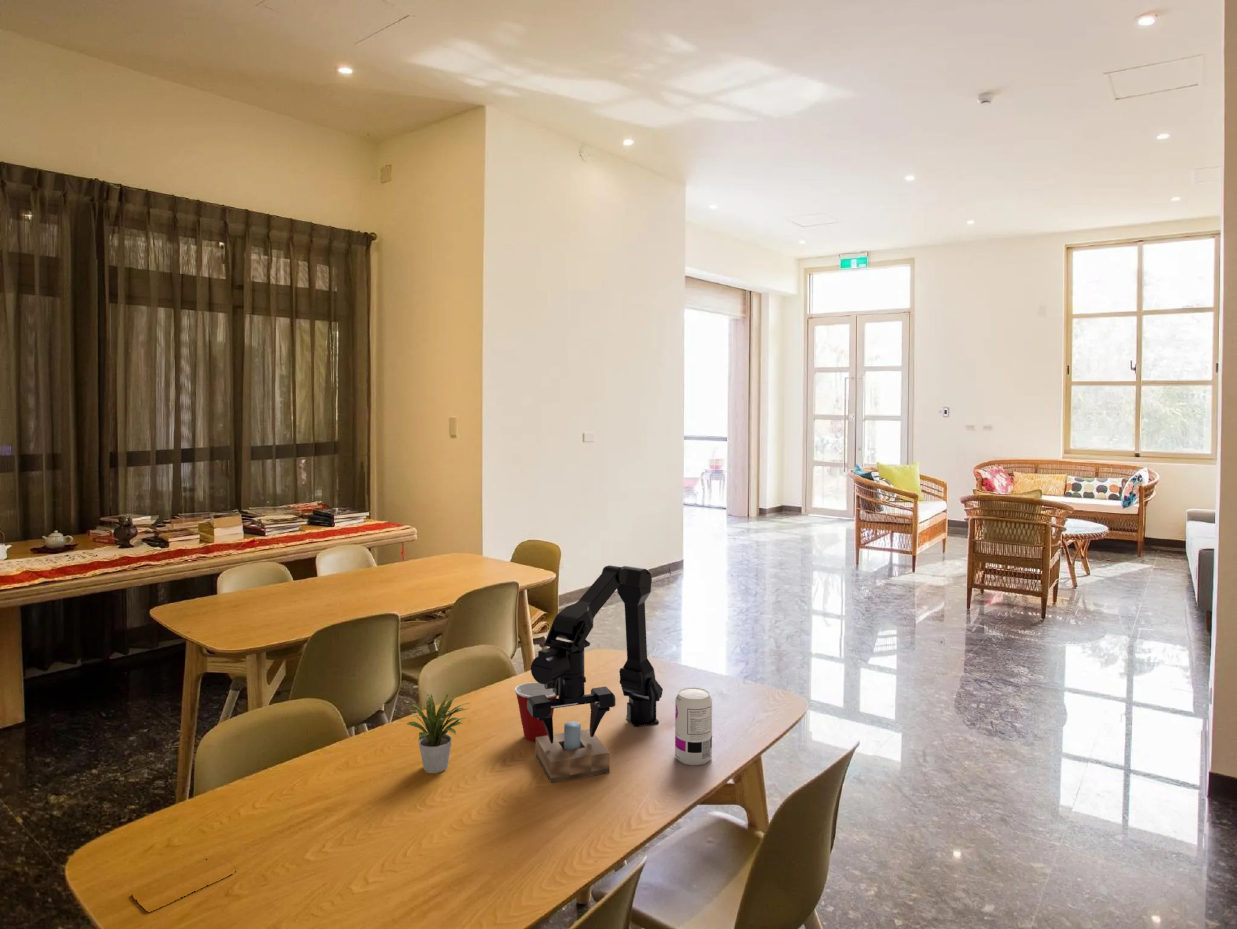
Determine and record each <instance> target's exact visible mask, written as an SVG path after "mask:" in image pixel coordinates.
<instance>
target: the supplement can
mask: <svg viewBox="0 0 1237 929" xmlns="http://www.w3.org/2000/svg"><path fill="white" fill-rule="evenodd" d="M674 703H675V707H674V708H675V712H674V713H675V715H674V716H675V719H674V720H675V722H674V724H675V726H674V728H675V730H674V731H675V733H674V734H675V737H674V739H675V741H674V756H675V758H676V759H677V760H678V761H679V762H680V763H682V764H684V765H687V766H688V765H689V766H700V765H701V766H702V765H705V764H707V763H709V761H710V760H711V759H712V754H713V750H712V748H713V744H712V743H713V699H712V696H711V694H710V692H709V691H708V690H706V689H704V688H701V687H685V688H682V689H680V690H678V693H677V695H676V697H675V702H674Z"/></svg>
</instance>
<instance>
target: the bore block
mask: <svg viewBox="0 0 1237 929" xmlns="http://www.w3.org/2000/svg"><path fill="white" fill-rule="evenodd" d="M535 757H536V759H537V761H538V763H539V764H540V766H541V768H542V770H543V771H544V774H545V775H546V776H547V778H548V780H549V781H550V783H551V784H554V783H559V782H564V781H570V780H575V779H583V778H586V777H587V778H588V777H593V776H599V775H605V774H610V752H609V750H608V749H607V748H606V746H605V744H603V742H602V741H601V740H600V739H599V738H598V736H597V735H596V733H595V734H594V736H593V737H591V736H590V728H588V729H581V739H580V749H573V750H567V751H564V732H561V733H553V743H551V742H550V740H549V737H548V735H547V736H540V737H536V742H535Z"/></svg>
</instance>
